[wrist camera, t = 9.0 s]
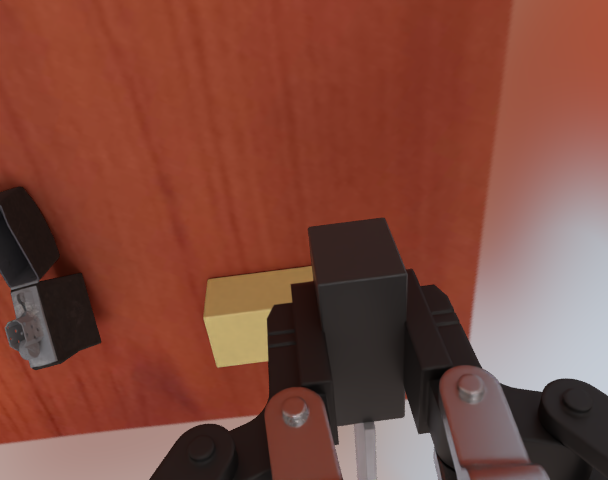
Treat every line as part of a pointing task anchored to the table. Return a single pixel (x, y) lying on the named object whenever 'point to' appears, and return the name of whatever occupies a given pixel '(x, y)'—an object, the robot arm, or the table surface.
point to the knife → (362, 325)
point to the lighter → (40, 288)
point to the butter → (246, 312)
